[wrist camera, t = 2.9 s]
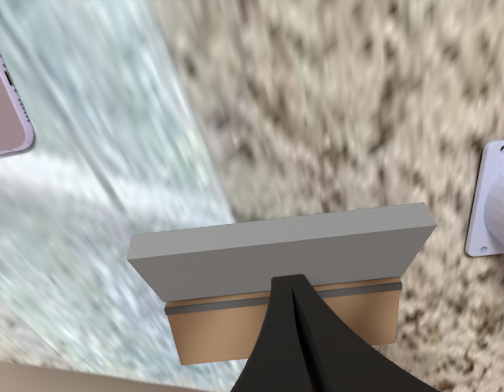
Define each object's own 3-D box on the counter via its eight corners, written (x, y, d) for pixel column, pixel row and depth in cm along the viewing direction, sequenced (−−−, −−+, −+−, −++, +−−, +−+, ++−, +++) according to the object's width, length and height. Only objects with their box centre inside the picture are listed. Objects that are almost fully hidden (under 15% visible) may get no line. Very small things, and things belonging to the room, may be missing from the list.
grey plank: (423, 202, 16) (437, 224, 15) (392, 256, 20) (401, 276, 19) (132, 235, 16) (126, 259, 15) (166, 281, 21) (163, 302, 20)
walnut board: (390, 267, 21) (402, 283, 19) (385, 327, 23) (396, 345, 21) (170, 291, 21) (164, 308, 20) (185, 348, 23) (180, 367, 22)
